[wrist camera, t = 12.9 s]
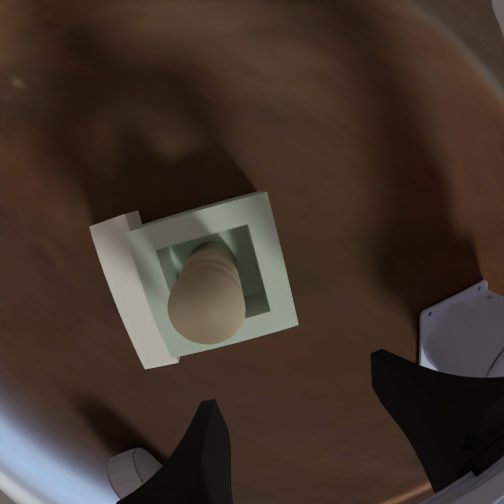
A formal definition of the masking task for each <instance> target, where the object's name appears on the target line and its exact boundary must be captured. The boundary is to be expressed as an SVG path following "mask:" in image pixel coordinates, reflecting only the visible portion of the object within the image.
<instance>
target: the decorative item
mask: <svg viewBox="0 0 504 504" xmlns="http://www.w3.org/2000/svg"><path fill="white" fill-rule="evenodd" d="M162 466H163V465H162V464H160V463H159V462H158V461H157V460H156V459H155V458H154V457H153V456H152V455H151V454H150V453H149V452H147V451H146V450H145V449H142V448H134V449H131V450H128V451H125V452H123V453H120V454H118V455H116V456H114V457H112V458H110V459H109V461H108V465H107V473H108V479H109V481H110V484H111V486H112V488H113V490H114V491H115V493H116V494H117V496H118V497H119V499H123V498H124V497H126V496H127V495H129V494H130V493H132V492H133V491H135V490H136V489H138V488H139V487H140V486H141V485H143V484H144V483H145V482H146V481H147V480H149V479H150V478H151V477H152V476H153V475H154V474H155V473H156V472H157V471H158V470H159V469H160V468H161V467H162Z"/></svg>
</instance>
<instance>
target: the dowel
mask: <svg viewBox="0 0 504 504" xmlns="http://www.w3.org/2000/svg"><path fill="white" fill-rule="evenodd" d="M167 309H168V316H169V319H170V321H171V323H172V325H173V327H174V328H175V329H176V331H177V332H178V333H179V334H180V335H182V336H183V337H184V338H186V339H188V340H190V341H192V342H195V343H198V344H206V345H210V344H217V343H221V342H223V341H225V340H227V339H229V338H231V337H232V336H233V335H234V334H235V333H236V332H237V331H238V330H239V329H240V327H241V325H242V323H243V321H244V318H245V310H246V308H245V301H244V296H243V292H242V287H241V282H240V278H239V273H238V268H237V264H236V259H235V256H234V254H233V252H232V251H231V250H230V249H229V248H228V247H227V246H226V245H224V244H222V243H220V242H216V241H208V242H204V243H201V244H200V245H198V246H197V247H196V248H194V250H193V251H192V252H191V254H190V256H189V258H188V260H187V262H186V264H185V266H184V267H183V269H182V271H181V273H180V275H179V277H178V279H177V281H176V283H175V285H174V287H173V289H172V291H171V293H170V295H169V299H168V305H167Z"/></svg>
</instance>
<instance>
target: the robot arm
mask: <svg viewBox="0 0 504 504" xmlns="http://www.w3.org/2000/svg"><path fill="white" fill-rule="evenodd" d="M429 312H430V313H429ZM428 314H429V315H428ZM370 354H371V374H372V387H373V389H374V391H375V393H376V395H377V396H378V398H379V400H380V402H381V403H382V404H383V406H384V407H385V408H386V410H387V411H388V412H389V414H390V415H391V416H392V418H393V419H394V420H395V422H396V423H397V424H398V425H399V427H400V428H401V429H402V431H403V432H404V434H405V435H406V436H407V438H408V440H409V441H410V443H411V445H412V447H413V448H414V450H415V452H416V454H417V456H418V458H419V460H420V462H421V464H422V466H423V468H424V470H425V472H426V474H427V476H428V479H429V481H430V483H431V486H432V488H433V491H434V493H435V495H433V496H431V497H429V498H428V499H426V500H424V501H422V502H420V503H418V504H504V297H503V296H501V295H498V294H496V293H494V292H492V291H490V290H488V289H487V281H485V280H482V281H481V282H479V283H477V284H475V285H473V286H471V287H469V288H468V289H466V290H464V291H462V292H460V293H458V294H456V295H454V296H452V297H450V298H448V299H446V300H444V301H442V302H440V303H438V304H436V305H434V306H432V307H429V308H427V309H425V310H423V311H422V312H421V314H420V343H419V365H418V364H416V363H413V362H411V361H408V360H406V359H404V358H402V357H399V356H397V355H395V354H393V353H391V352H388V351H386V350H384V349H380V350H378V351H375V352H373V353H370ZM116 504H233V500H232V492H231V445H230V438H229V431H228V427H227V425H226V423H225V421H224V419H223V416H222V414H221V412H220V410H219V407H218V405H217V403H216V401H215V399H212V400H207V401H202V402H201V403H200V405H199V407H198V409H197V411H196V414H195V416H194V418H193V420H192V422H191V424H190V425H189V427H188V429H187V431H186V433H185V435H184V436H183V438H182V440H181V441H180V443H179V444H178V446H177V447H176V449H175V450H174V452H173V453H172V454H171V456H170V457H169V458H168V460H167V461H166V462H165V463H164V464H163V466H162V467H161V468H160V469H159V470H158V471H157V472H156V473H155V474H154V475H153V476H152V477H151V478H150V479H149V480H147V481H146V482H145V483H144V484H143V485H141V486H140V487H139V488H138V489H136V490H135V491H133V492H132V493H130V494H129V495H127V496H126V497H124V498H123V499H121V500H119V501H118V502H117V503H116Z"/></svg>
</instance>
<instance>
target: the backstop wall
mask: <svg viewBox="0 0 504 504" xmlns="http://www.w3.org/2000/svg"><path fill="white" fill-rule="evenodd" d="M140 225H142V222H141V218H140V215H139V211H138V210H137V211H134V212H130V213H127V214H124V215H121V216H118V217H115V218H112V219H109V220H106V221H104V222H101V223H98V224H95V225H92V226H90V227H89V228H90V231H91V234H92V238H93V241H94V244H95V247H96V250H97V253H98V256H99V259H100V262H101V265H102V268H103V271H104V274H105V277H106V279H107V282H108V285H109V288H110V290H111V293H112V295H113V298H114V301H115V303H116V306H117V308H118V311H119V313H120V315H121V318H122V320H123V323H124V325H125V327H126V330H127V332H128V334H129V336H130V339H131V341H132V343H133V345H134V347H135V349H136V352H137V354H138V356H139V358H140V360H141V362H142V364H143V366H144V368H145V369H149V368H154V367H159V366H164V365H169V364H174V363H179V358H180V356H179V357H174V358H171V355H170V353H169V351H168V349H167V346H166V344H165V342H164V339H163V337H162V334H161V332H160V330H159V327H158V325H157V322H156V320H155V317H154V315H153V312H152V310H151V307H150V304H149V302H148V299H147V296H146V294H145V291H144V288H143V285H142V283H141V280H140V277H139V274H138V271H137V268H136V265H135V262H134V259H133V256H132V253H131V250H130V247H129V244H128V241H127V238H126V234H125V233H126V232H128V231H130V230H132V229H134V228H136V227H138V226H140Z"/></svg>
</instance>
